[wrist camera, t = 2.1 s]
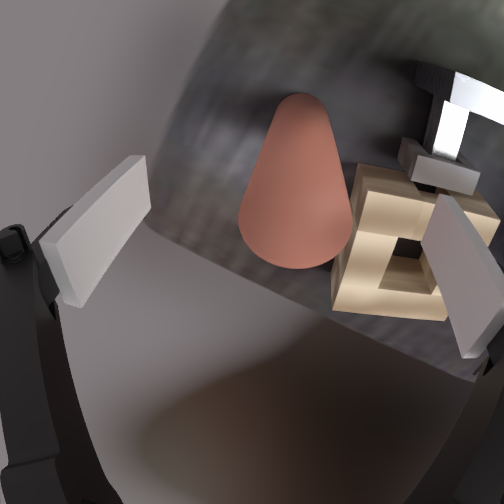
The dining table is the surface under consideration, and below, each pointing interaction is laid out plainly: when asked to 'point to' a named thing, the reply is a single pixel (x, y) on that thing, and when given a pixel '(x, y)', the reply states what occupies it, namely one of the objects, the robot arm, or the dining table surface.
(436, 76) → the pin
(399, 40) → the dining table surface
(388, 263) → the socket block
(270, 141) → the dowel
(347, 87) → the dining table surface
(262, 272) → the dining table surface
